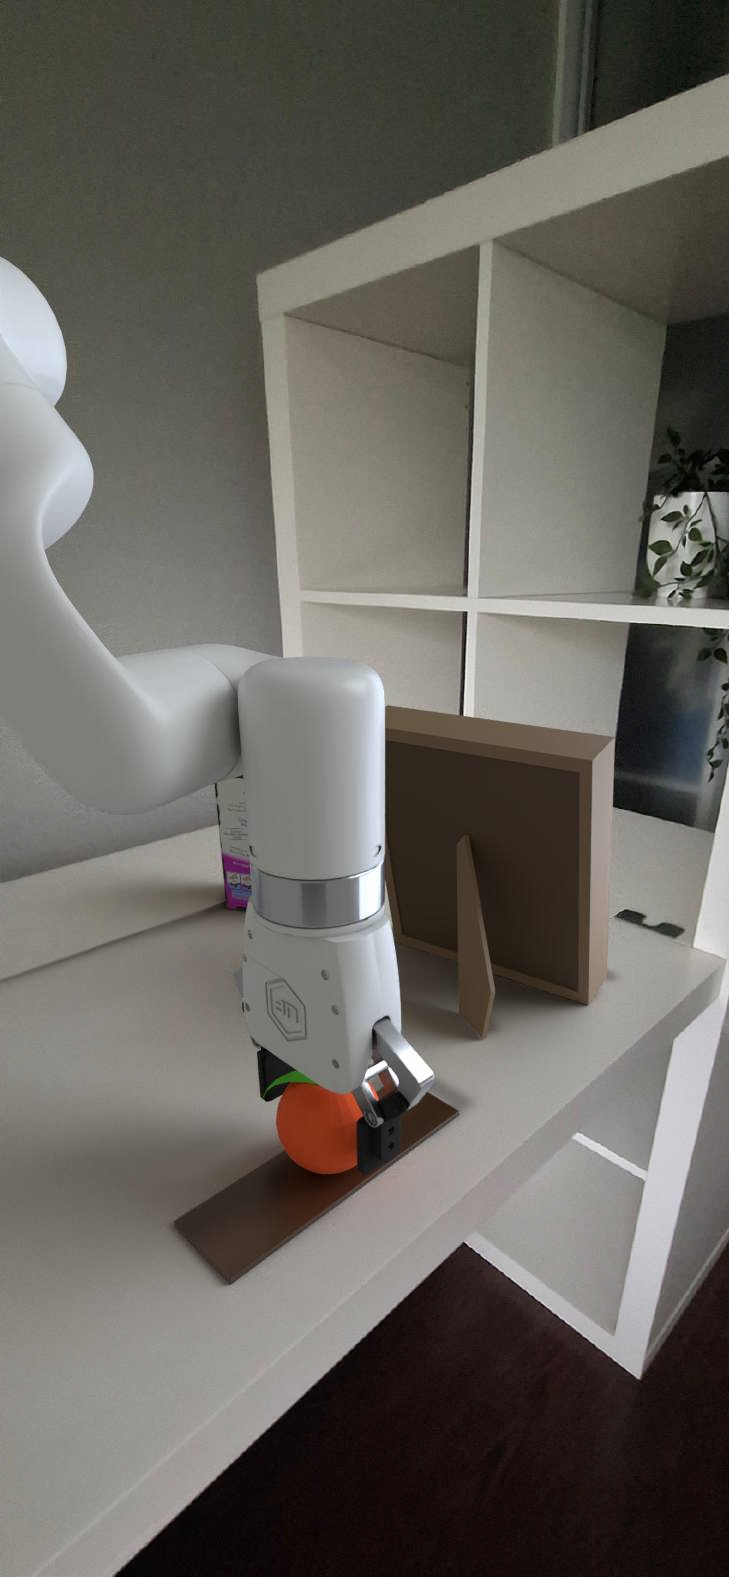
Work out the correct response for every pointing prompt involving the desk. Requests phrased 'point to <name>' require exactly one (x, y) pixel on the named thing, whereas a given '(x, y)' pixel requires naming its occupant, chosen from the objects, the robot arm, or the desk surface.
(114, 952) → the desk surface
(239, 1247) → the edge strip
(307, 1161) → the clementine
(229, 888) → the candy bar box
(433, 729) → the photo frame
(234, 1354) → the desk surface
